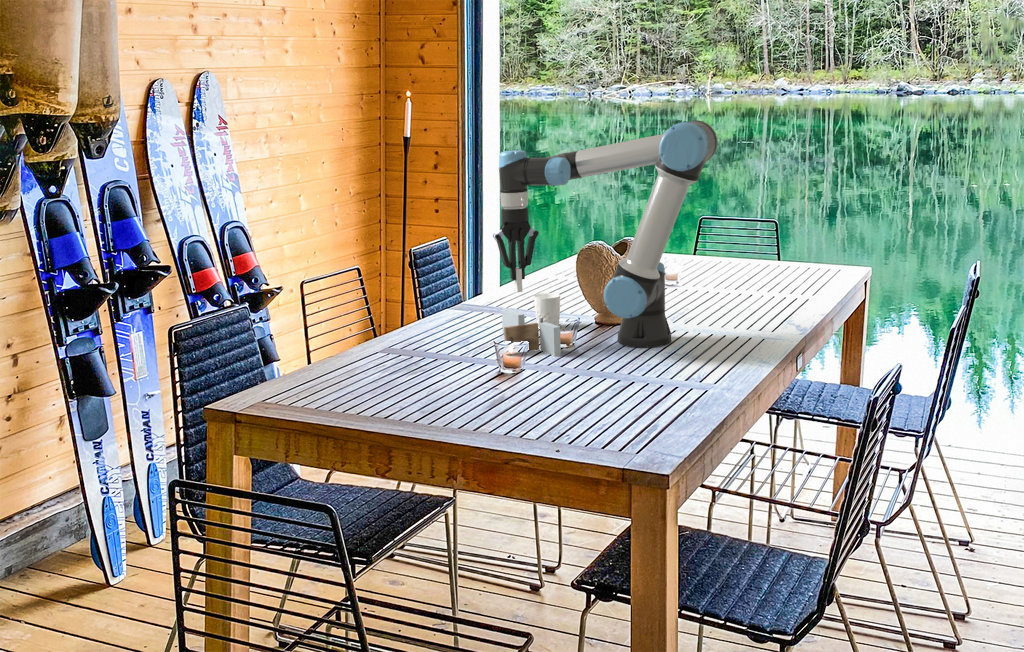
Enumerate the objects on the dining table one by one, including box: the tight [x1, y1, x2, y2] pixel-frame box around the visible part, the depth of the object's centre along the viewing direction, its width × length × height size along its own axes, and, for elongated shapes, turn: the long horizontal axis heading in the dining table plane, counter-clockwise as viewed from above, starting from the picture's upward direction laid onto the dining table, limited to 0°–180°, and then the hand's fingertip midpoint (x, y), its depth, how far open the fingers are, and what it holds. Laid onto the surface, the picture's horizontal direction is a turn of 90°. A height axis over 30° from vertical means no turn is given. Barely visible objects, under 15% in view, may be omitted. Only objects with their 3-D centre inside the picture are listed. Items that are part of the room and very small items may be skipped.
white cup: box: [533, 292, 561, 328], centre depth 335 cm, size 8×8×10 cm
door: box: [503, 322, 540, 352], centre depth 306 cm, size 10×2×8 cm, turn 115°
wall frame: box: [501, 308, 562, 357], centre depth 314 cm, size 30×2×9 cm, turn 28°
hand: (518, 291), depth 311 cm, fingers closed
